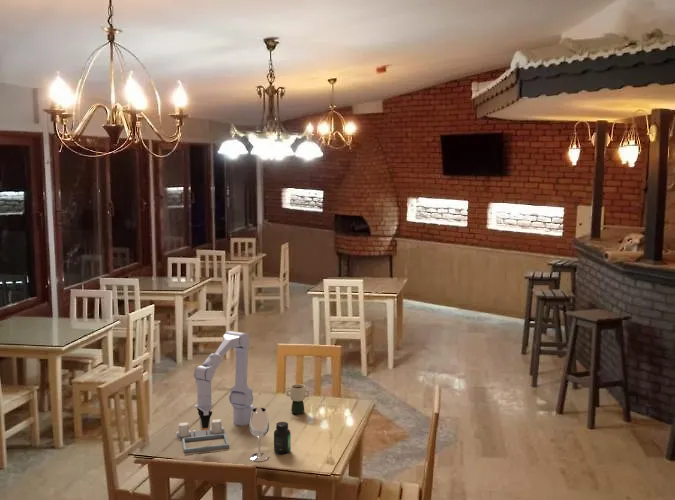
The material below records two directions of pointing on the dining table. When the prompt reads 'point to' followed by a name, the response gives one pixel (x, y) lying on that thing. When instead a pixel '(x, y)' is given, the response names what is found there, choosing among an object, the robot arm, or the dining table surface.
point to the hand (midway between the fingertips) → (204, 426)
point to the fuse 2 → (216, 426)
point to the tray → (205, 446)
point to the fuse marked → (202, 427)
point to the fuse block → (199, 433)
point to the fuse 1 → (183, 429)
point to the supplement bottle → (282, 439)
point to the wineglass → (259, 430)
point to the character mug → (297, 397)
